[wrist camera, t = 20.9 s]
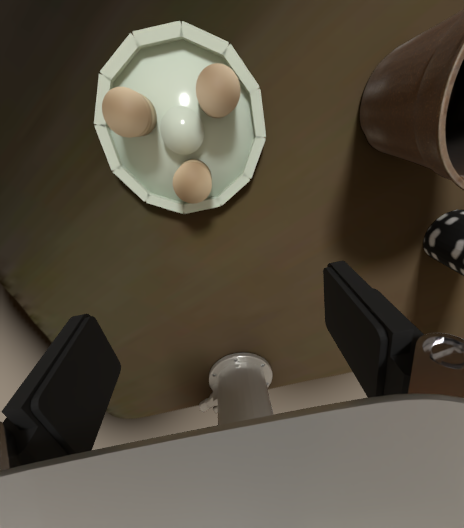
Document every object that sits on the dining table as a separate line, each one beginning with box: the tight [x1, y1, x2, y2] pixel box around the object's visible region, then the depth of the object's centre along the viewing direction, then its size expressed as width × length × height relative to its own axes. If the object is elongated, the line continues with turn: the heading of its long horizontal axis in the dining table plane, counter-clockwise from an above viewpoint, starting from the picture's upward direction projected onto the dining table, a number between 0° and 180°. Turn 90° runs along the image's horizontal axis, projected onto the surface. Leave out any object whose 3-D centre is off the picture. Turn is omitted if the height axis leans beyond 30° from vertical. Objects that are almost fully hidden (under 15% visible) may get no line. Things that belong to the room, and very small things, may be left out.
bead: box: [196, 63, 240, 118], centre depth 28 cm, size 4×4×5 cm
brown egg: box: [173, 159, 212, 204], centre depth 32 cm, size 4×4×5 cm
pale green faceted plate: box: [94, 21, 266, 214], centre depth 31 cm, size 19×19×2 cm
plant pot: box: [360, 9, 464, 190], centre depth 26 cm, size 16×16×16 cm
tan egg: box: [102, 87, 157, 138], centre depth 28 cm, size 4×4×5 cm
